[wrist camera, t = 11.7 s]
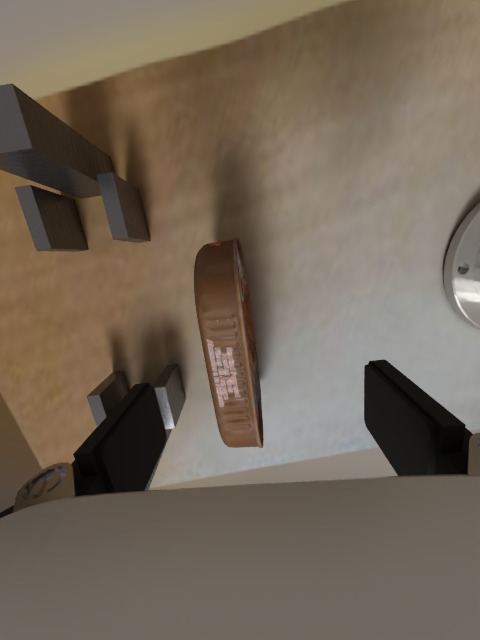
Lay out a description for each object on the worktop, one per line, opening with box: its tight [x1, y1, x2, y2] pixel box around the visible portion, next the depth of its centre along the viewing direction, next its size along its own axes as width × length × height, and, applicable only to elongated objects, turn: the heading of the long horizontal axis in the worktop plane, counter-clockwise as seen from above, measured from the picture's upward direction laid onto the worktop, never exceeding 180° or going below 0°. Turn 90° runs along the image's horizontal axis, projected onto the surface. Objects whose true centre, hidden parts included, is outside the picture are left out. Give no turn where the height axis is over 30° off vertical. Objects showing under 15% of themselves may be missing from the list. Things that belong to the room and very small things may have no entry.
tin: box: [194, 238, 263, 448], centre depth 18 cm, size 15×3×8 cm, turn 8°
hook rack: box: [0, 84, 186, 491], centre depth 17 cm, size 6×23×8 cm, turn 8°
